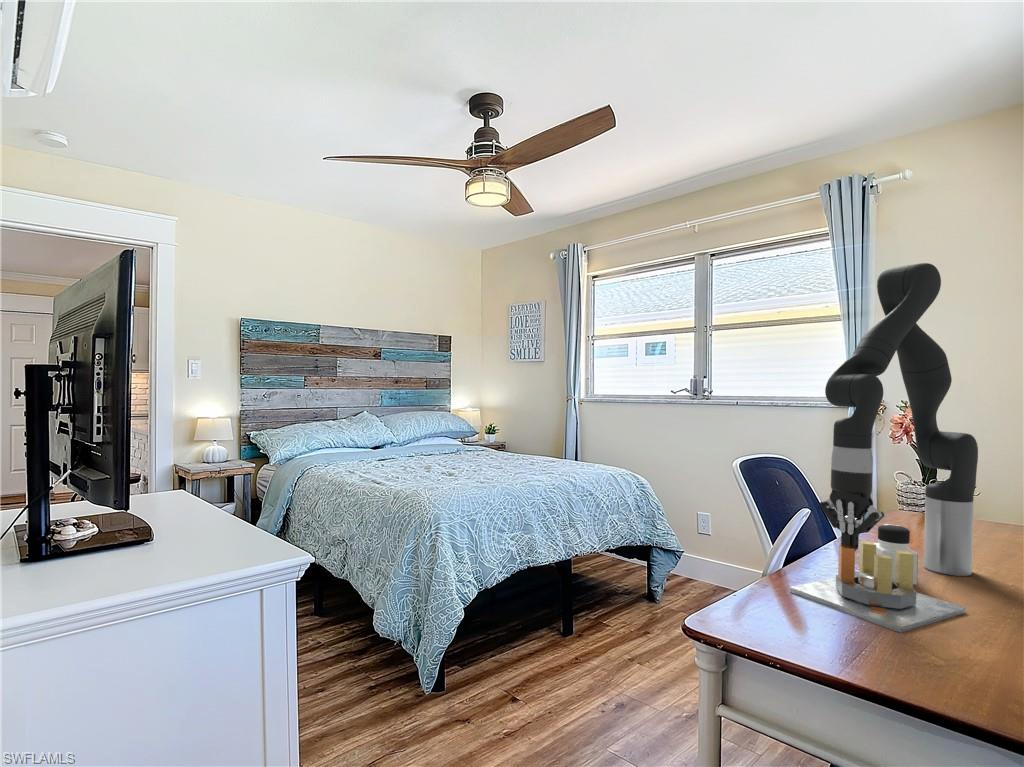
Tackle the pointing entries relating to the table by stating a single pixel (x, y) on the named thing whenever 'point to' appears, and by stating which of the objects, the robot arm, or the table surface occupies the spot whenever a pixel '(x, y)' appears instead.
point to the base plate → (887, 617)
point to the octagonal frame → (876, 577)
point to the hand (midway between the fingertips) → (849, 551)
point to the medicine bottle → (895, 545)
